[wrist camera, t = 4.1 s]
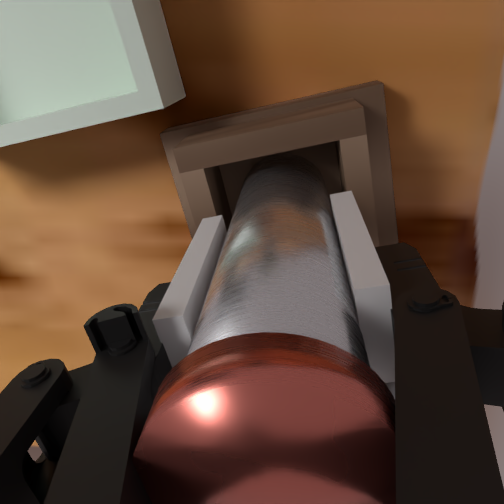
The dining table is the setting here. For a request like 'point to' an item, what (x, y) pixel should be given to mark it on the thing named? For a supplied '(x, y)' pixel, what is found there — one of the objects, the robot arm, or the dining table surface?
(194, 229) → the block
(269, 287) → the pin
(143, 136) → the dining table surface
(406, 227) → the dining table surface
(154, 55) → the tray
